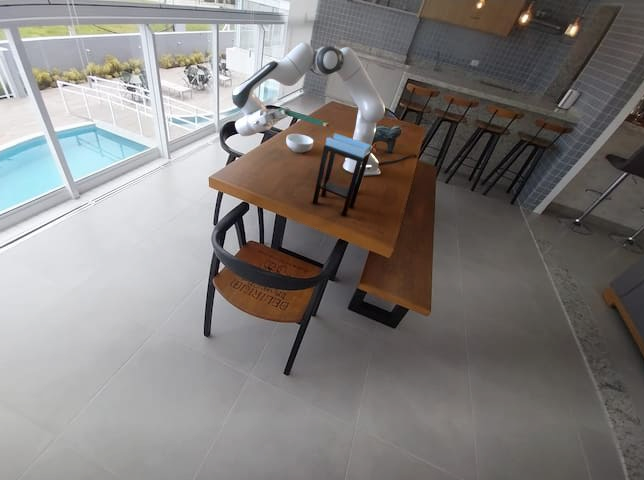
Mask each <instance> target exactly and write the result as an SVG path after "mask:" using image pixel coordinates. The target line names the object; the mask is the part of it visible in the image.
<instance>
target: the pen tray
mask: <svg viewBox="0 0 644 480" xmlns="http://www.w3.org/2000/svg"><path fill="white" fill-rule="evenodd" d="M325 140H326V141H325V145H328V146H331V147H333V148H336V149H339V150H342V151H345V152H348V153H351V154H354V155H356V156H359V157H362V158H364V157H365V156H366V155H367V154H368V153H370V150H371V146H372V147H373V145H369V144H366V143H363V142H360V141H357V140H354V139H353V138H351V137H348V136H345V135H342V134H339V133H336V132H335V133H333V138H332V137H329V136H327V137H326V139H325Z"/></svg>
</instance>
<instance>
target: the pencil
mask: <svg viewBox="0 0 644 480" xmlns="http://www.w3.org/2000/svg"><path fill="white" fill-rule="evenodd" d="M278 109H279V111H282V110H286V115H289V116H288V117H292V118H296V119H298V120H302V121H305V122H307V123H311V124H314V125H317V126H320V127H322V126H323V127H325V128H326V127H329V126H330V125H329V123H328V122H326V121H324V120H322V119H318V118H315V117H312V116H309V115H306V114H303V113H300V112H296V111H294V110H291V109H290V110H291V111H290V110H287V109H284V108H283V107H279V108H278ZM279 111H278V112H279Z"/></svg>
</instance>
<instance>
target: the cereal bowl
mask: <svg viewBox="0 0 644 480" xmlns="http://www.w3.org/2000/svg"><path fill="white" fill-rule="evenodd" d="M285 139H286V140H285V143H286V146H287V147H288V148H289V149H291V150H292V151H293V152H295V153H299V154H300V153H304V152H308V151H311V149H312V148H313V146H314V139H313V138H312V137H310V136H308V135H304V134H300V133H290V134H287V136H286V138H285Z"/></svg>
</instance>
